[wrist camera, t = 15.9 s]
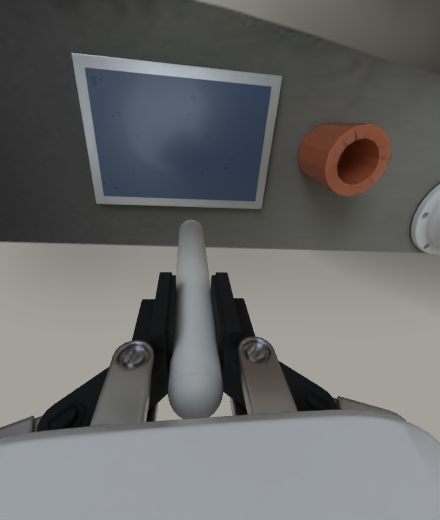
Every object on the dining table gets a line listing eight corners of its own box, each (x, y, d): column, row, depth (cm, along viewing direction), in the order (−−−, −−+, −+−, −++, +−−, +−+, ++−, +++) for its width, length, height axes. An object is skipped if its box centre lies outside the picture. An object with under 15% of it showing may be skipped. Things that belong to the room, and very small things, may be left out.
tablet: (279, 76, 27) (282, 75, 26) (260, 207, 33) (261, 209, 33) (74, 54, 24) (70, 52, 23) (98, 201, 31) (96, 204, 30)
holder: (358, 123, 30) (402, 126, 24) (341, 182, 33) (376, 198, 27) (305, 119, 29) (337, 120, 23) (292, 180, 32) (317, 195, 26)
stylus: (203, 217, 20) (229, 398, 7) (202, 238, 21) (223, 431, 8) (179, 215, 19) (165, 401, 7) (179, 237, 20) (166, 435, 8)
